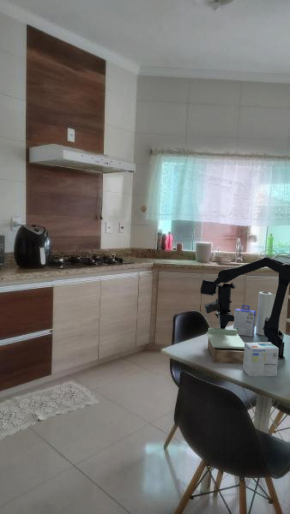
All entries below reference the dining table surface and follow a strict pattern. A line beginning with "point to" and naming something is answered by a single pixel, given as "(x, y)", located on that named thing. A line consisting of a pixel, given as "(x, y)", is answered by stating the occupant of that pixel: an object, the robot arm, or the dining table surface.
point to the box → (226, 354)
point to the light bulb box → (260, 359)
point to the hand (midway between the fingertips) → (221, 331)
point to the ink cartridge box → (244, 321)
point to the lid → (225, 338)
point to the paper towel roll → (264, 310)
